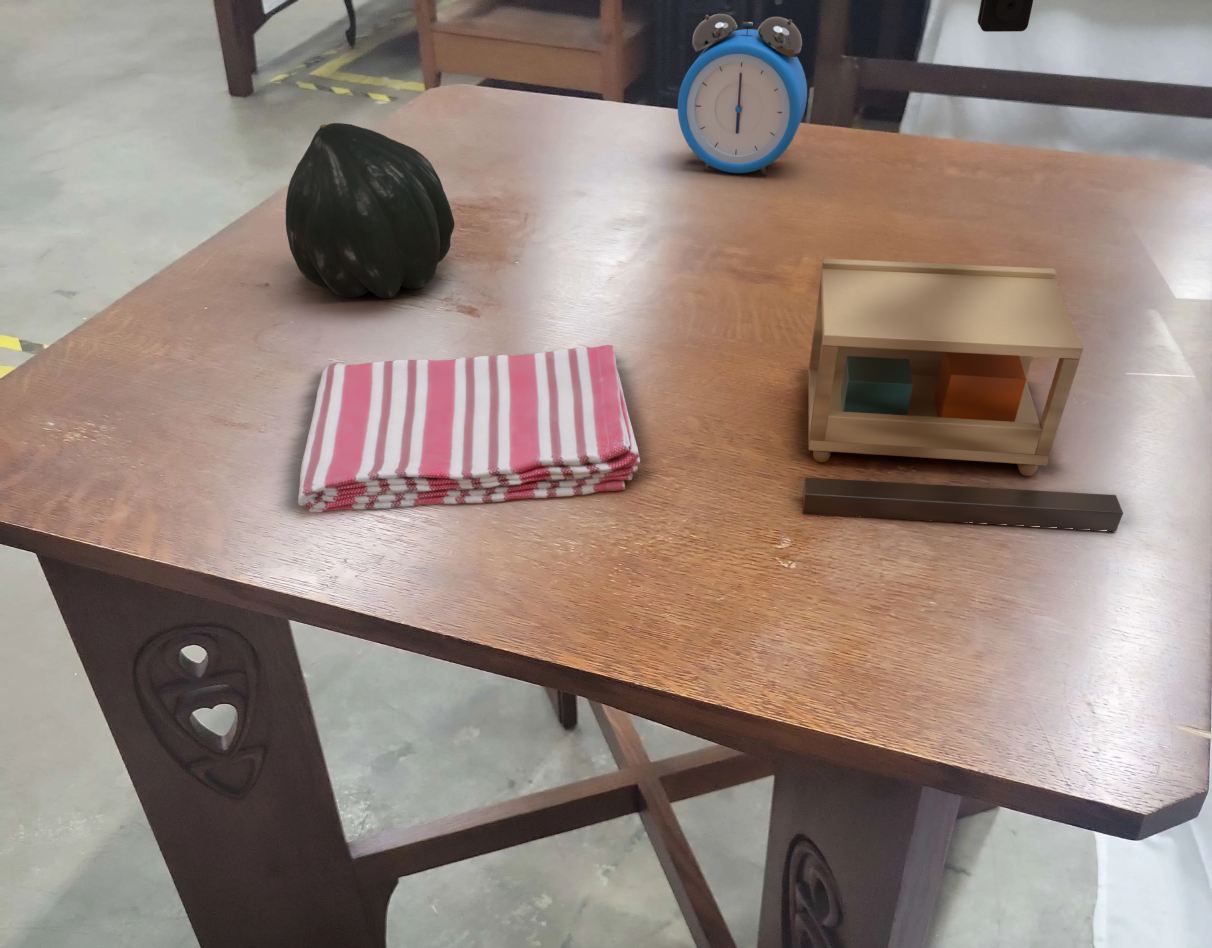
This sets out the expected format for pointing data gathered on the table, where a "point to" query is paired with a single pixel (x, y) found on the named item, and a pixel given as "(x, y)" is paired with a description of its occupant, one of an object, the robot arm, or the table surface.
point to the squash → (366, 213)
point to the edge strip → (961, 504)
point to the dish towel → (468, 431)
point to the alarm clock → (743, 93)
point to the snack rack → (937, 361)
